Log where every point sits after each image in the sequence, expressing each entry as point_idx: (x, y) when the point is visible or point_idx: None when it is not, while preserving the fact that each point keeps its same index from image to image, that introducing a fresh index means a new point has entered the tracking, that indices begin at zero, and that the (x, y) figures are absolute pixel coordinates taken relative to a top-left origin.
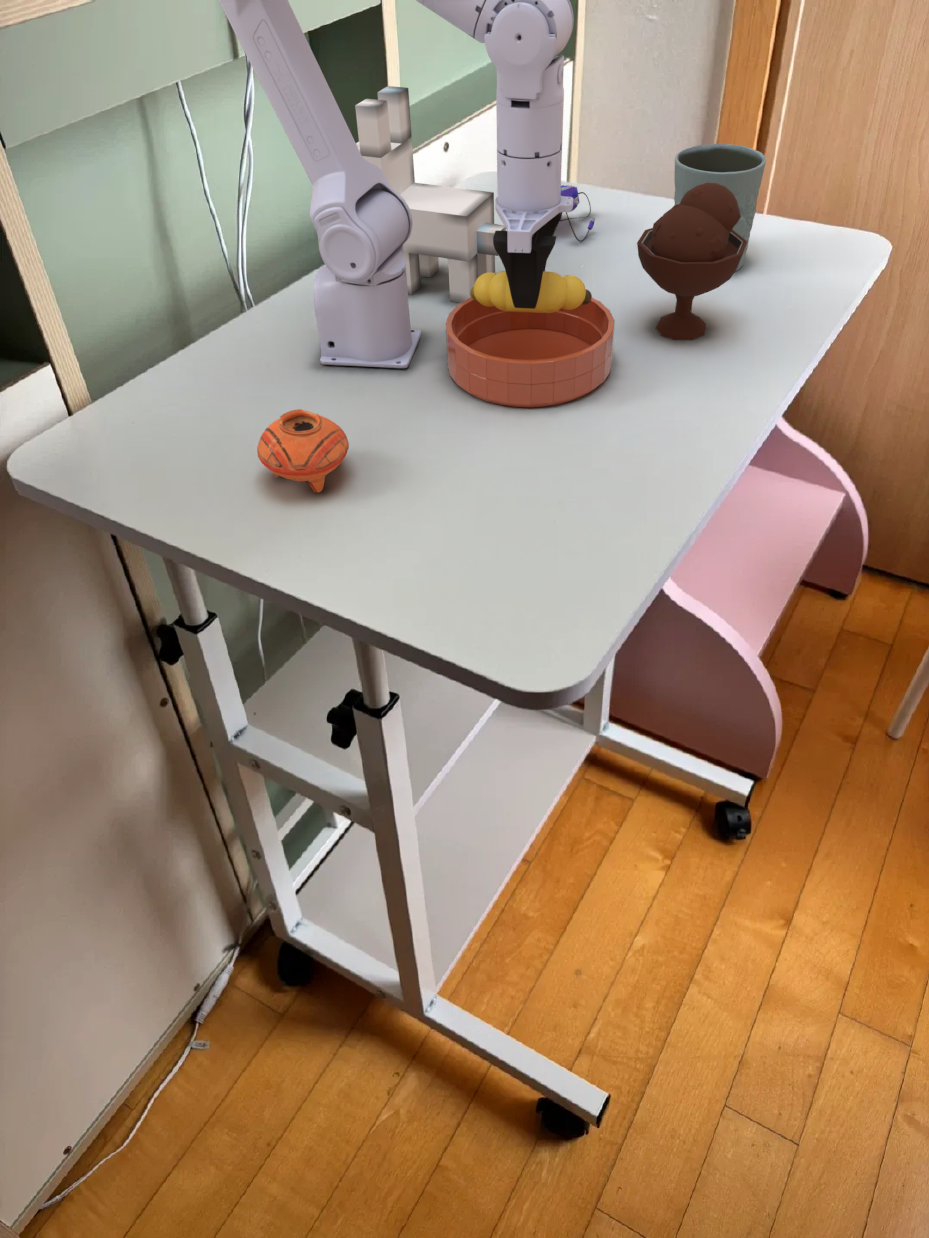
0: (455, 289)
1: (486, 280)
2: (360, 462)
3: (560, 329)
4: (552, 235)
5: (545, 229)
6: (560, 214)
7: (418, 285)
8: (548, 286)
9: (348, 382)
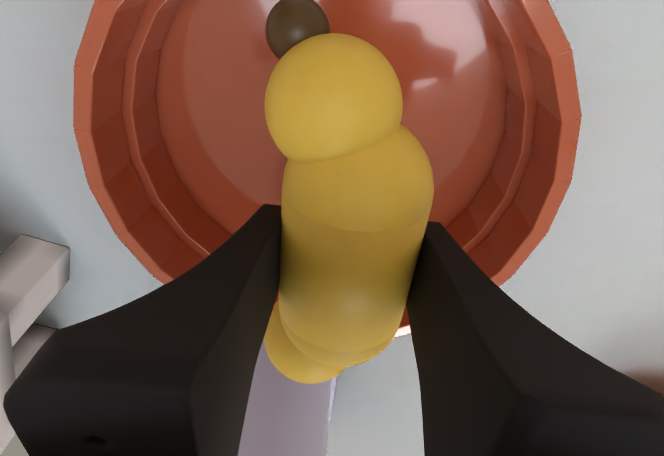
0: (53, 288)
1: (336, 372)
2: (611, 363)
3: (156, 56)
4: (227, 316)
5: (222, 370)
6: (177, 398)
7: (35, 329)
8: (420, 220)
9: (377, 386)
